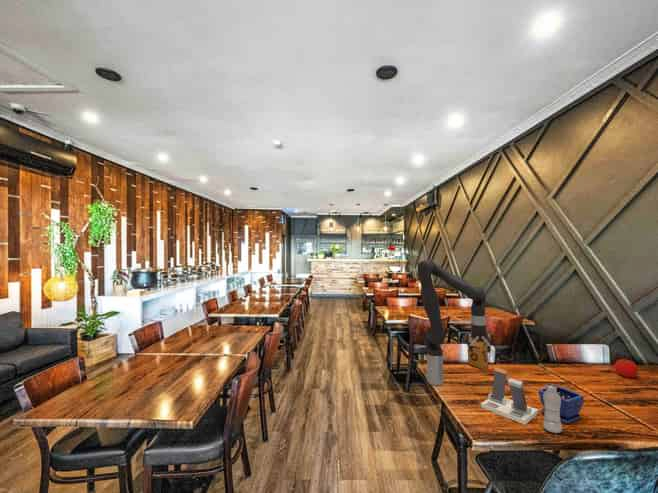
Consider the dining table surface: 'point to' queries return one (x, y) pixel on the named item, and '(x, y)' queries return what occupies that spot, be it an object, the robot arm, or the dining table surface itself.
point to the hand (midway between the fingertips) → (480, 352)
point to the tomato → (626, 368)
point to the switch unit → (509, 410)
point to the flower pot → (566, 404)
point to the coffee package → (478, 355)
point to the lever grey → (518, 394)
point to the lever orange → (499, 384)
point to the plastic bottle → (552, 409)
